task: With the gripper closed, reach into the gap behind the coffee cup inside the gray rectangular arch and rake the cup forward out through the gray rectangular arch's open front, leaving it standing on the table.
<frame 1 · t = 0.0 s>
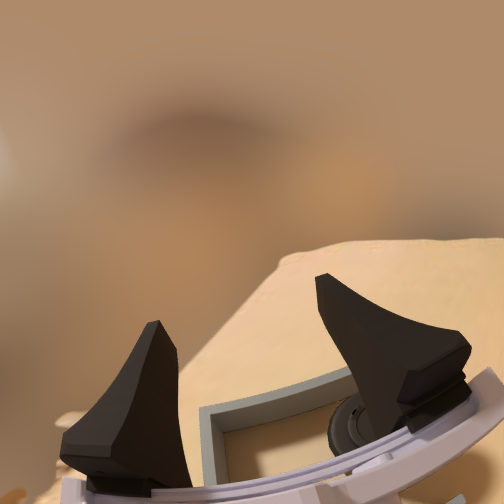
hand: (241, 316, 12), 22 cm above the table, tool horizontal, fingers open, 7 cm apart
gray rectangular arch: (325, 477, 20), on the table
coffee cup: (368, 462, 20), on the table
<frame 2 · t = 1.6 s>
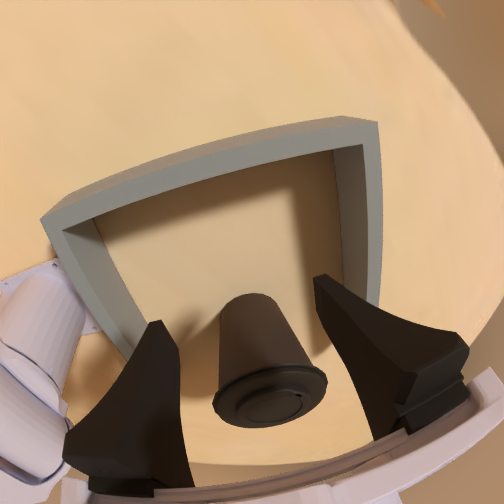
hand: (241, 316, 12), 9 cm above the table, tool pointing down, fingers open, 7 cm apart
gray rectangular arch: (237, 277, 23), on the table
coffee cup: (249, 315, 25), on the table
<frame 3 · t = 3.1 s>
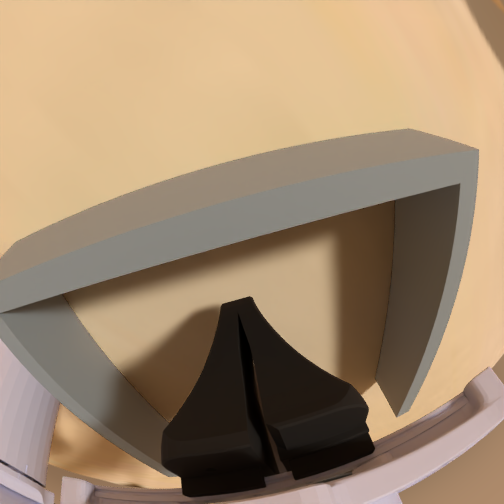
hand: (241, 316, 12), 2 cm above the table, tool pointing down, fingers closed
gray rectangular arch: (254, 347, 16), on the table
coffee cup: (267, 382, 19), on the table
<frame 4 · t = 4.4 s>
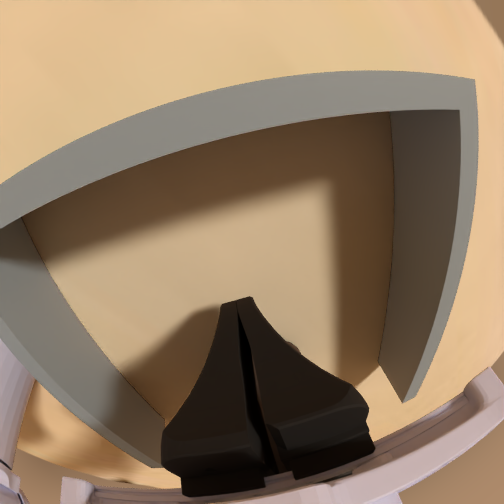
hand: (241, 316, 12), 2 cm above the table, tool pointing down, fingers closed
gray rectangular arch: (243, 315, 15), on the table
coffee cup: (259, 363, 17), on the table
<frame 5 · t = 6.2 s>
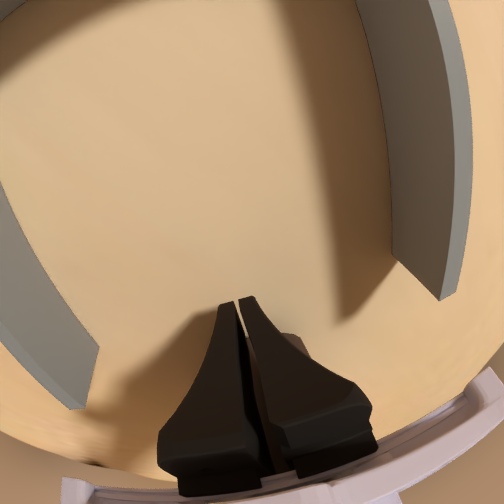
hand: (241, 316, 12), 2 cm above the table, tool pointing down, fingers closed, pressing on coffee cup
gray rectangular arch: (174, 124, 10), on the table
coffee cup: (258, 353, 16), on the table, touching gripper
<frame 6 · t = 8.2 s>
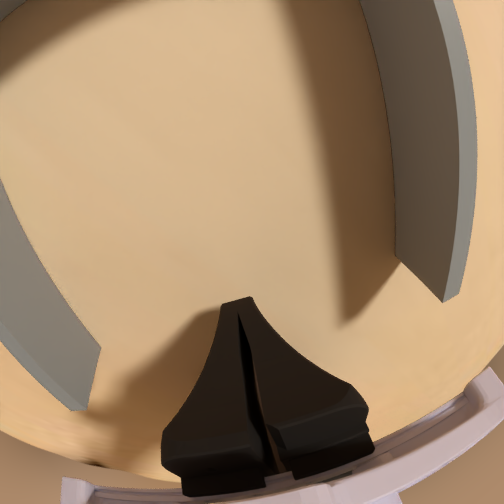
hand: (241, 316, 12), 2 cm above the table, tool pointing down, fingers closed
gray rectangular arch: (178, 124, 10), on the table
coffee cup: (266, 374, 18), on the table
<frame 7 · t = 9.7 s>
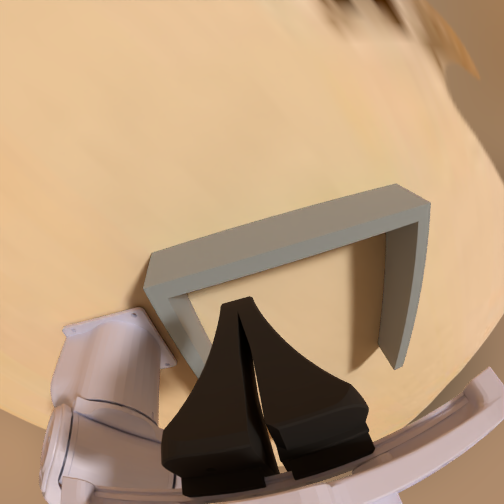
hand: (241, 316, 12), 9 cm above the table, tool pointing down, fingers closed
gray rectangular arch: (302, 316, 26), on the table
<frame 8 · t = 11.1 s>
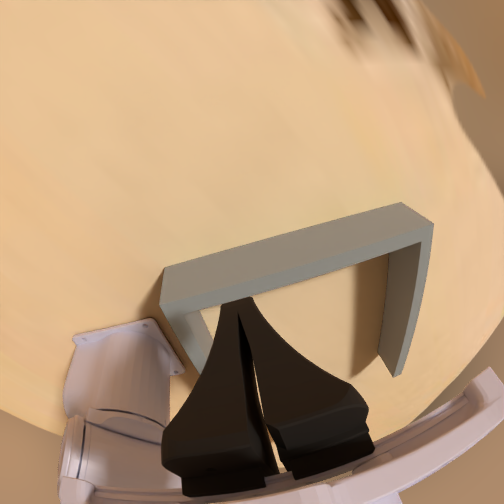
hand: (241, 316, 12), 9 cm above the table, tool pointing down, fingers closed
gray rectangular arch: (306, 326, 27), on the table
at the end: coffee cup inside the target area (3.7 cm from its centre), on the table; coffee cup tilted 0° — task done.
